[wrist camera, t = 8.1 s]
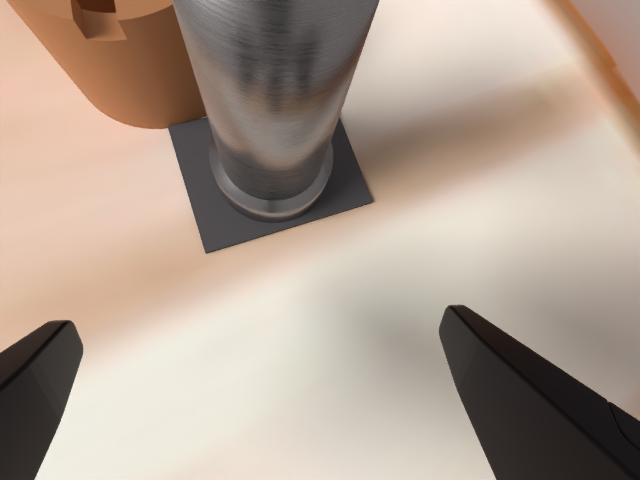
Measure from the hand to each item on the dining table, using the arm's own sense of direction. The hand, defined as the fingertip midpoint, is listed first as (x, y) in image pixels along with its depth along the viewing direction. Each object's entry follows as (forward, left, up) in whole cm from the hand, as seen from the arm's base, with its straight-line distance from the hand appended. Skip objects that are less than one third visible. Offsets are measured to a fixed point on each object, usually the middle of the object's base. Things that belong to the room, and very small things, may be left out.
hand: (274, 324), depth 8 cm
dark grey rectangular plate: (+8, -2, -8) cm, 12 cm away
